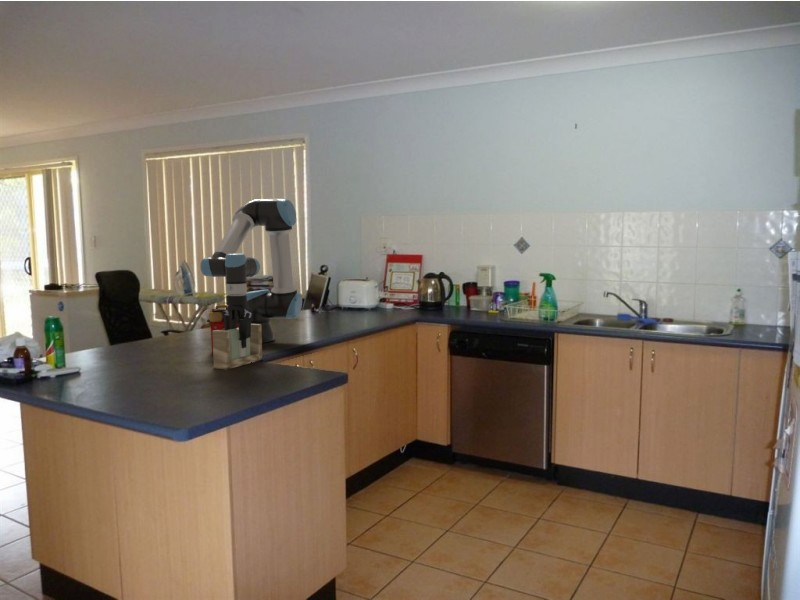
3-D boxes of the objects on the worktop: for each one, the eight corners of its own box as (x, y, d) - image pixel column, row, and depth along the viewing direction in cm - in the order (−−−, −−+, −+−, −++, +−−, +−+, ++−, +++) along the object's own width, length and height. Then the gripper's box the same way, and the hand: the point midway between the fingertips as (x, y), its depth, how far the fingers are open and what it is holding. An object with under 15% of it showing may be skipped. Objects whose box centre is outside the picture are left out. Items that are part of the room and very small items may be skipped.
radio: (210, 356, 253) (208, 307, 251) (210, 352, 263) (209, 304, 260) (250, 354, 257) (248, 306, 255) (249, 350, 267) (248, 303, 265)
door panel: (244, 357, 245) (243, 326, 243) (250, 357, 243) (249, 327, 242) (226, 362, 236) (225, 330, 234) (232, 362, 234) (231, 331, 233)
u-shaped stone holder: (250, 358, 250) (248, 323, 248) (262, 359, 247) (261, 324, 246) (213, 368, 232) (212, 330, 231) (226, 369, 229) (225, 331, 228)
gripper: (213, 294, 237) (215, 355, 240) (246, 296, 230) (248, 359, 232) (227, 292, 244) (229, 352, 246) (259, 294, 236) (261, 355, 239)
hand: (238, 355), depth 239 cm, fingers closed on door panel, 3 cm apart
